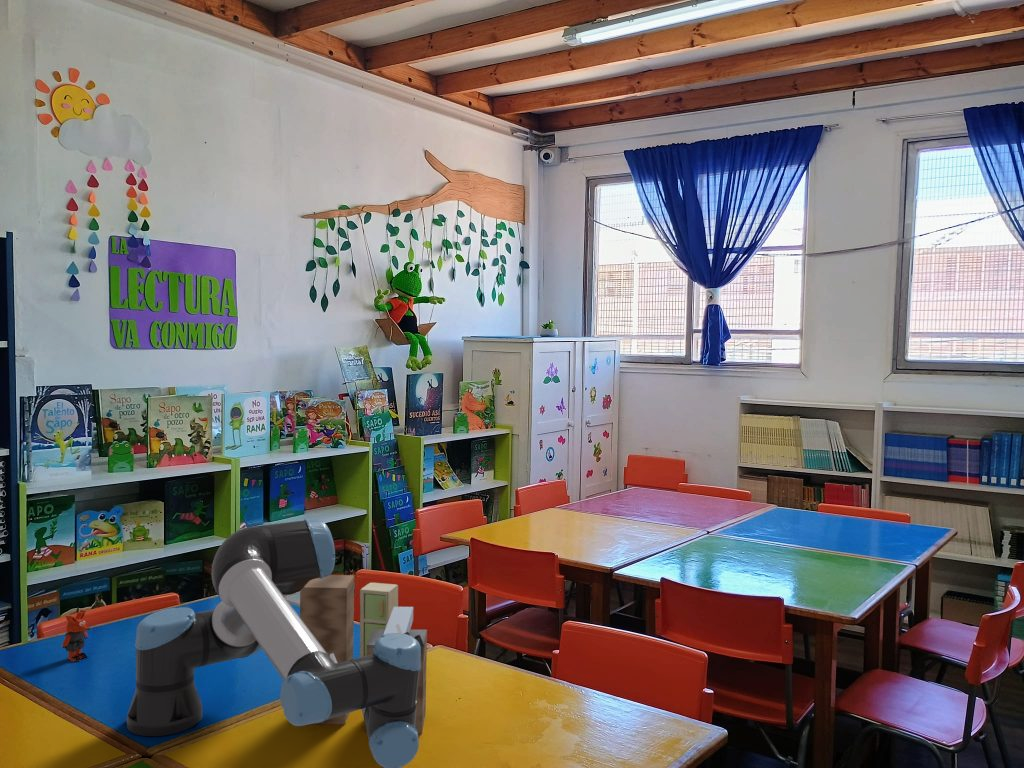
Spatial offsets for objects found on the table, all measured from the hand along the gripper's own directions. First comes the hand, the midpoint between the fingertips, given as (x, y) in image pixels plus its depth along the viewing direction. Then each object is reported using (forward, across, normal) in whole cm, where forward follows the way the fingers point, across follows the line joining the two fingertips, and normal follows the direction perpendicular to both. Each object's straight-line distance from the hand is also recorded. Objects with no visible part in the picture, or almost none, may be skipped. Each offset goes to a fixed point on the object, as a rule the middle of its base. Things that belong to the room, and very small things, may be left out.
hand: (366, 644), depth 164 cm
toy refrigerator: (+44, -2, -30) cm, 54 cm away
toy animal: (+68, -71, -6) cm, 99 cm away
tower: (+20, -15, -22) cm, 33 cm away
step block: (+12, -1, -26) cm, 29 cm away
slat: (+13, +6, -9) cm, 17 cm away
